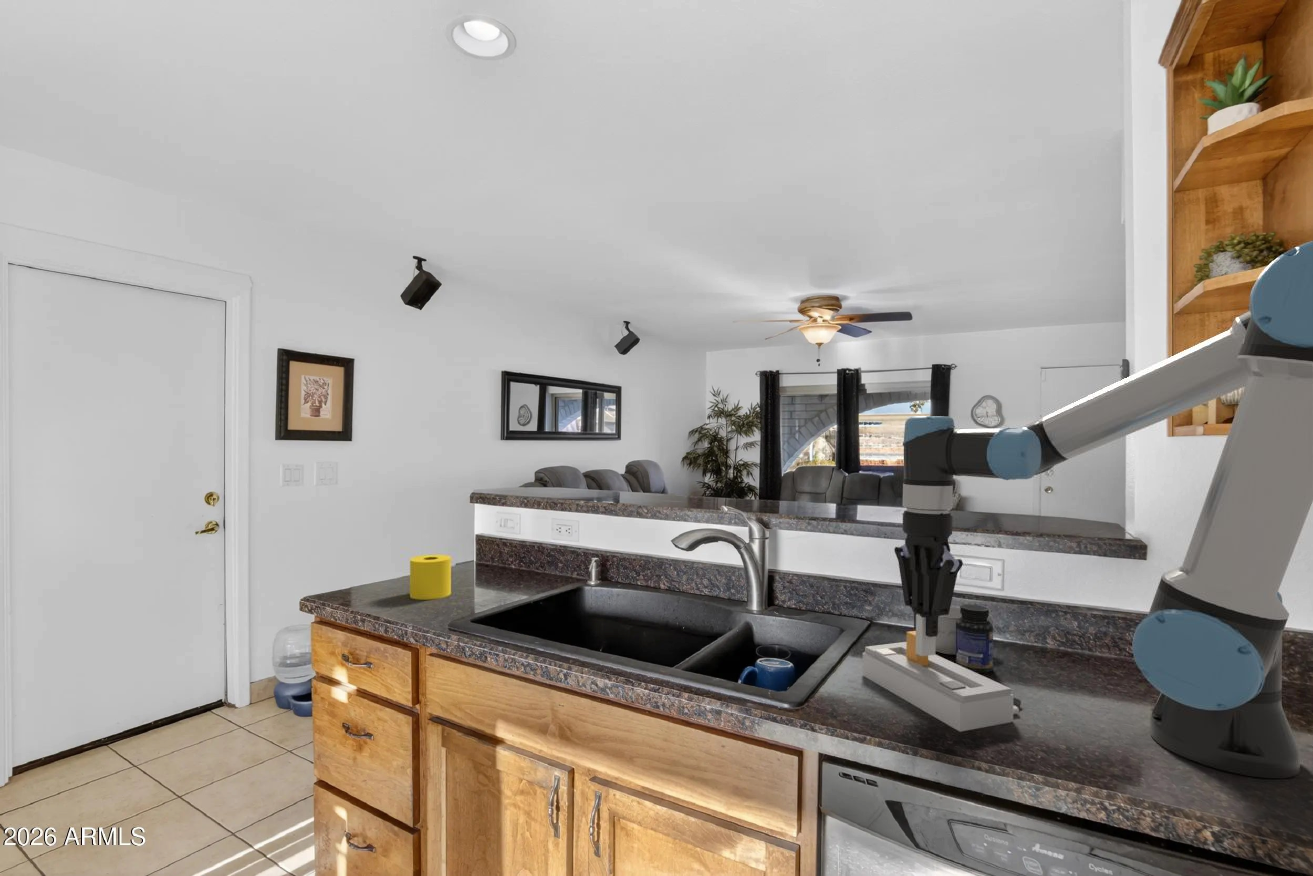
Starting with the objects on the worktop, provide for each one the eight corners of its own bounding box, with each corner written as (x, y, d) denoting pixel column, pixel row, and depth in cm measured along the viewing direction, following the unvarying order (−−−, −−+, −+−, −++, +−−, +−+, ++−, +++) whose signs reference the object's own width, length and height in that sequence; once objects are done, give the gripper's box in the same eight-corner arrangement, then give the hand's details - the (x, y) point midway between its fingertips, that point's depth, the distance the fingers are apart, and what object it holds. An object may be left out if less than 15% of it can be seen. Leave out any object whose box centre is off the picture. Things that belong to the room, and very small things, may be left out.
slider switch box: (1013, 721, 93) (1013, 686, 93) (959, 731, 90) (960, 695, 90) (908, 669, 114) (909, 640, 114) (862, 675, 111) (862, 645, 111)
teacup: (924, 657, 120) (924, 615, 120) (915, 639, 131) (915, 600, 131) (1004, 664, 117) (1004, 621, 117) (988, 645, 127) (988, 605, 127)
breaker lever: (928, 664, 104) (928, 634, 104) (916, 666, 103) (916, 636, 103) (917, 659, 106) (918, 630, 106) (906, 661, 106) (906, 631, 106)
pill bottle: (997, 675, 111) (998, 613, 111) (960, 672, 113) (961, 611, 112) (986, 662, 117) (987, 604, 117) (951, 660, 119) (952, 602, 118)
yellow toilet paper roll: (412, 591, 167) (412, 555, 167) (451, 588, 170) (451, 554, 170) (407, 600, 158) (408, 563, 158) (449, 598, 160) (449, 561, 160)
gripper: (977, 514, 98) (975, 665, 98) (917, 505, 110) (915, 639, 110) (938, 516, 95) (936, 671, 96) (881, 506, 108) (880, 643, 108)
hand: (925, 653), depth 103 cm, fingers closed
